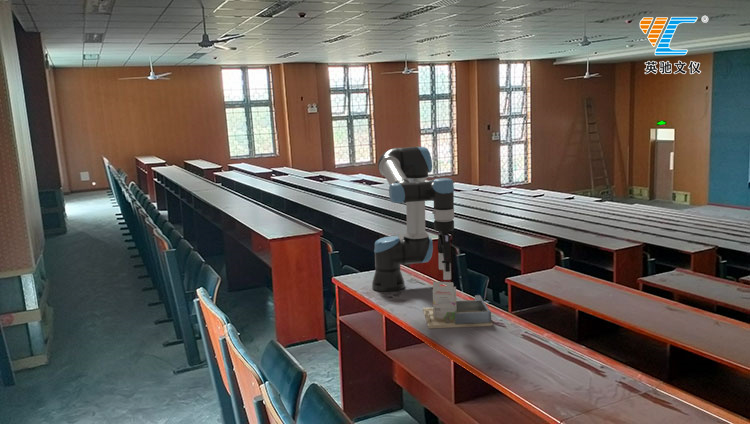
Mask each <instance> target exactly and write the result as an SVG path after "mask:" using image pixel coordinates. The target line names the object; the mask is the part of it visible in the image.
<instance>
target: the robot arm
mask: <svg viewBox="0 0 750 424" xmlns="http://www.w3.org/2000/svg"><path fill="white" fill-rule="evenodd" d="M377 169H378V171H379V173H380V174H381V176H383V177H385V179H386V180H387V182H388V184H389V187H388V195H389V197H388V198H389V200H390V202H391V203H394V204H398V203H399V204H403V203H406V204H405V205H406V206H405V207H406V231H405V233H403V238H402V239H401V238H400V237H399V236H396V235H394V236H392V235H391V236H384V237H381V238H379V239H377V240H375V242H374V249H373V252H374V268H375V272H374V275H373V279H372V283H371V287H372V289H373V290H375V291H377V292H378V291H379V292H387V293H388V292H396V291H397V292H398V291H401V290H403V289H404V288H405V286H406V285H405V280H404V278H403V277H404V276H403V273H402V271H401V265H412V264H424V263H428V262H430V261H431V258H432V256H433V250H434V245H433V244H434V243H433V239H432V238H431V237H429V236H430V235H429V233H428V232H427V231H426V202H433V211H432V213H431V214H432V215H433V220H434V221H433V229H434V231H436V232H438V234H437V235H438V238H437V239H438V240H437V252H438V270H439V271H440V270H441V271H442V274H443V276H442V277H443V280H444V281H446V280H447V281H448V280H452V262H453V260H452V248H451V246H452V245H451V235H450V234H449V232H451V231H454V229H455V220H454V219H455V207H454V206H455V205H454V203H455V202H454V201H455V198H454V197H455V196H454V194H455V192H454V191H455V186H454V180H453V179H452V178H447V177H440V178H435V179H431V180H428V181H427V179H428V178H429V173H431V172H432V170H433V161H432V156H431V152H430V150H429V149H428V148H427V147H425V146H409V147H393V148H391V149H388V150H386V151H384V152H383V153H382V154H381V155H380V156H379V158H378V161H377Z"/></svg>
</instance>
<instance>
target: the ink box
mask: <svg viewBox="0 0 750 424" xmlns="http://www.w3.org/2000/svg"><path fill="white" fill-rule="evenodd" d="M443 285H444V286H443ZM456 301H457V286H454V282H453V281H452V282H451V281H432V307H433V317H434V318H441V319H446V316H449V319H455V313H457V306H456Z"/></svg>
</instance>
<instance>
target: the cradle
mask: <svg viewBox="0 0 750 424" xmlns="http://www.w3.org/2000/svg"><path fill="white" fill-rule="evenodd" d="M422 311H423V316H424V318H425V320H426V325H427V328H428V329H444V328H445V329H449V328H470V327H474V328H475V327H490V326H491V327H492V326H493V321H491V322H489V323H467V324H455V319H449V316H446V319H441V318H434V317H433V306H432V307H422ZM463 312H482V311H481V310H476V311H457V313H463Z"/></svg>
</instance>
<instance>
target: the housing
mask: <svg viewBox="0 0 750 424" xmlns="http://www.w3.org/2000/svg"><path fill="white" fill-rule="evenodd" d="M456 306H457V311H476V310H481V311H482V312H463V313H455V324H467V323H489V322H492V311H491V310H490V308H489V307H488V305H487V304H486V302H485V301H484V299H483V298H482V296H481V295H480V294H477V295H474V299H472V300H471V299H469V300H456Z"/></svg>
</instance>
